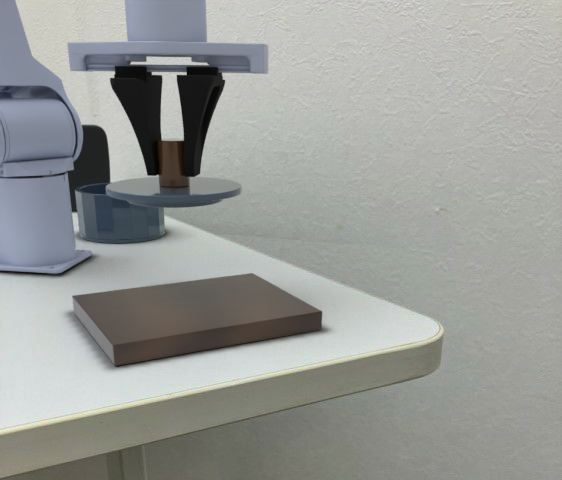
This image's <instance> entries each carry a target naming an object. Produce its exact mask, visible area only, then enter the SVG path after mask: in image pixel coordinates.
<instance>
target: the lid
mask: <svg viewBox="0 0 562 480" xmlns="http://www.w3.org/2000/svg"><path fill="white" fill-rule="evenodd" d="M157 157H158V174H159V175H158V176H150V177H149V176H148V177H137V178H128V179H122V180H118V181H113V183H110V184H108V185H107V186H106V194H107V195H108V196H110V197H113V198H117V199H121V200H127V202H129V203H131V204H135V205H139V206H147V207H161V208H164V209H165V208H166V209H177V208H180V209H181V208H195V207H198V208H199V207H205V206H210V205H215V204H219V203H221V202H222V201H224V200H227V199H231V198H234V197H237V196H239V195H241V194H242V192H243V185H242V183H239V182H237V181H235V180H230V179H225V178H216V177H205V176H195V177H185V171H184V138H176V137H175V138H174V137H173V138H171V137H170V138H162V139H158V140H157Z"/></svg>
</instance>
